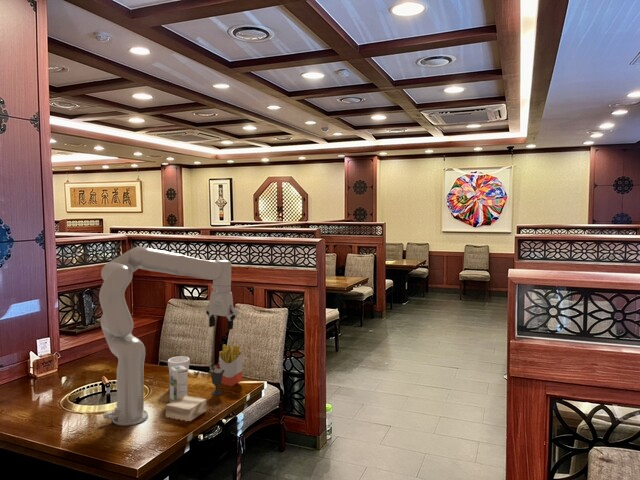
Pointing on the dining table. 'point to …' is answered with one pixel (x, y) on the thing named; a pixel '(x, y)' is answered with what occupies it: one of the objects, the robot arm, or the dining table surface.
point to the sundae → (217, 377)
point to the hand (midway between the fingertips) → (220, 327)
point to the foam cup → (178, 362)
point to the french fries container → (231, 364)
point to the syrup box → (178, 382)
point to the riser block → (186, 408)
